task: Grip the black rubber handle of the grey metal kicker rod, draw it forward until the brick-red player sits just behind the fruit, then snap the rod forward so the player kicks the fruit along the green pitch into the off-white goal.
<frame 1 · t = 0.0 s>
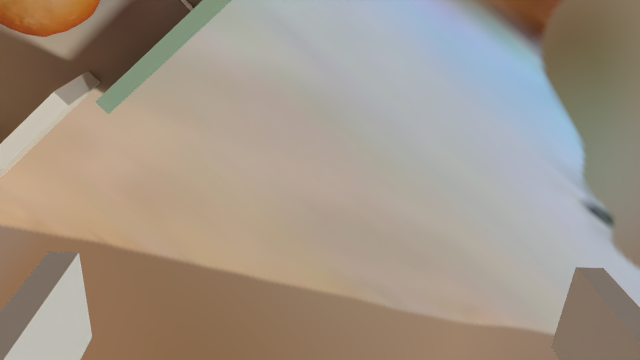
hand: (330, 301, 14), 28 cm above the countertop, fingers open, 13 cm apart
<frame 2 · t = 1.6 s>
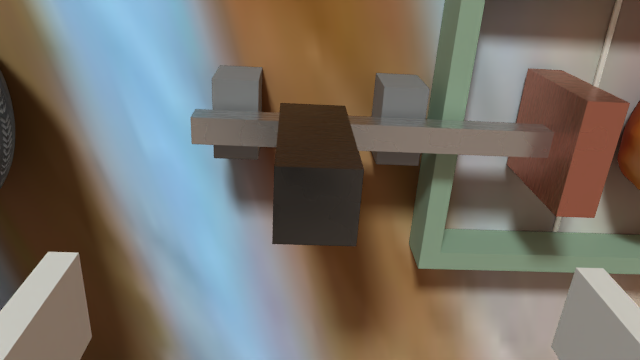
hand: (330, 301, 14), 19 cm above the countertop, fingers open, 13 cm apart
kicker rod: (400, 150, 25), point 7 cm above the countertop, slide at 0.0 cm
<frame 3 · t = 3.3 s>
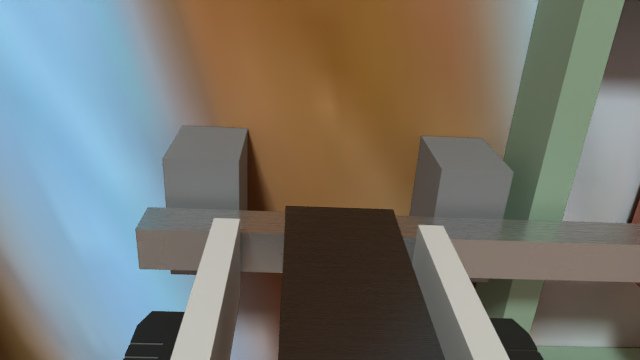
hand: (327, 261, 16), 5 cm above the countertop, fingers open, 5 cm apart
kicker rod: (489, 291, 15), point 7 cm above the countertop, slide at 0.4 cm, touching gripper
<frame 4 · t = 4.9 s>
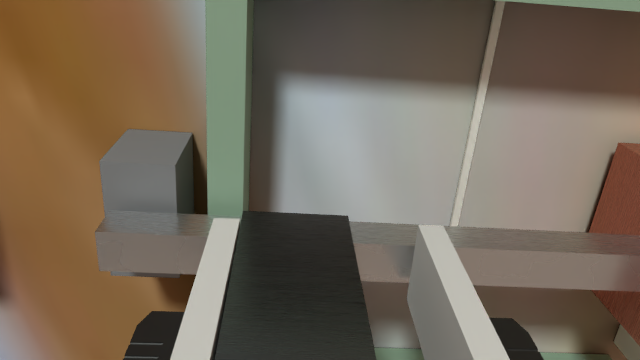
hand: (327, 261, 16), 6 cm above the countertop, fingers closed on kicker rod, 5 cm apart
kicker rod: (438, 296, 15), point 7 cm above the countertop, slide at 10.2 cm, touching gripper
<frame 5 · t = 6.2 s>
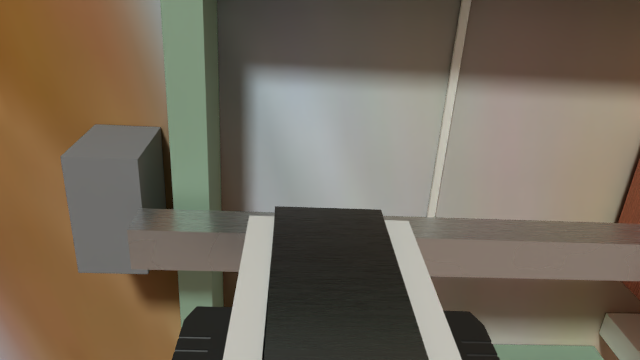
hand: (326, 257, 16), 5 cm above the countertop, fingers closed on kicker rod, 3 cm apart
kicker rod: (474, 290, 15), point 7 cm above the countertop, slide at 12.3 cm, touching gripper
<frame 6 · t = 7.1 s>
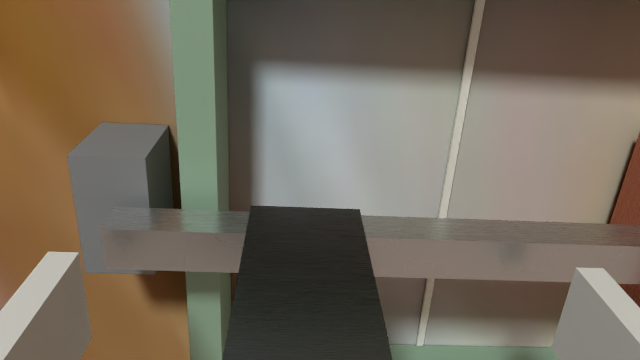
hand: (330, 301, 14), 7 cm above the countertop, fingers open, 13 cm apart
kicker rod: (454, 292, 15), point 7 cm above the countertop, slide at 11.3 cm
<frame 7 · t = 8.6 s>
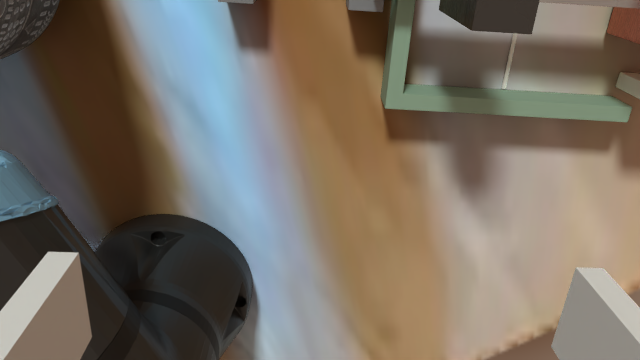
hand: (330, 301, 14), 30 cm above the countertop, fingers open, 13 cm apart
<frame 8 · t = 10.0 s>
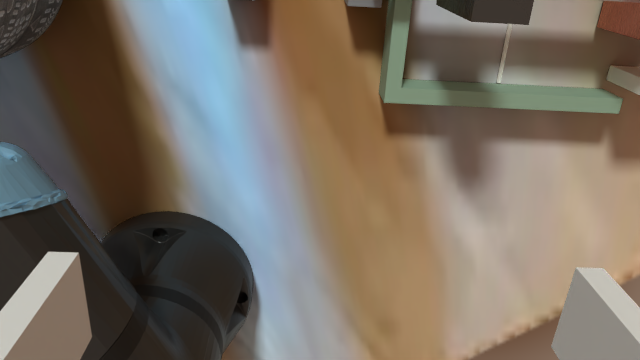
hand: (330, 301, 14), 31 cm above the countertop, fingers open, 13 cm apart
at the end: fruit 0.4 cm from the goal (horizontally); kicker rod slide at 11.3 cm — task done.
